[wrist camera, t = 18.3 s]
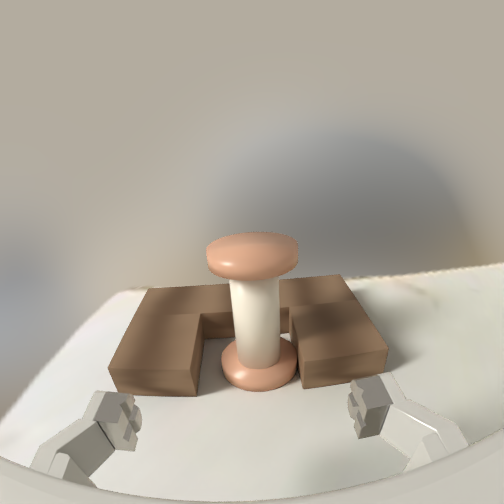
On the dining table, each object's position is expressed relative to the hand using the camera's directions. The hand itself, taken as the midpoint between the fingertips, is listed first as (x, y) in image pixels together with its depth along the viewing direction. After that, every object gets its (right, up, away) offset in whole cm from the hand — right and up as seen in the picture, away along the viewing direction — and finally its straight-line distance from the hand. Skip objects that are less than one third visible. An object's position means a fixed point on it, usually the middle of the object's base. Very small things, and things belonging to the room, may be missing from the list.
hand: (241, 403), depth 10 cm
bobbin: (+1, -4, +15) cm, 16 cm away
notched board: (0, -3, +19) cm, 19 cm away
